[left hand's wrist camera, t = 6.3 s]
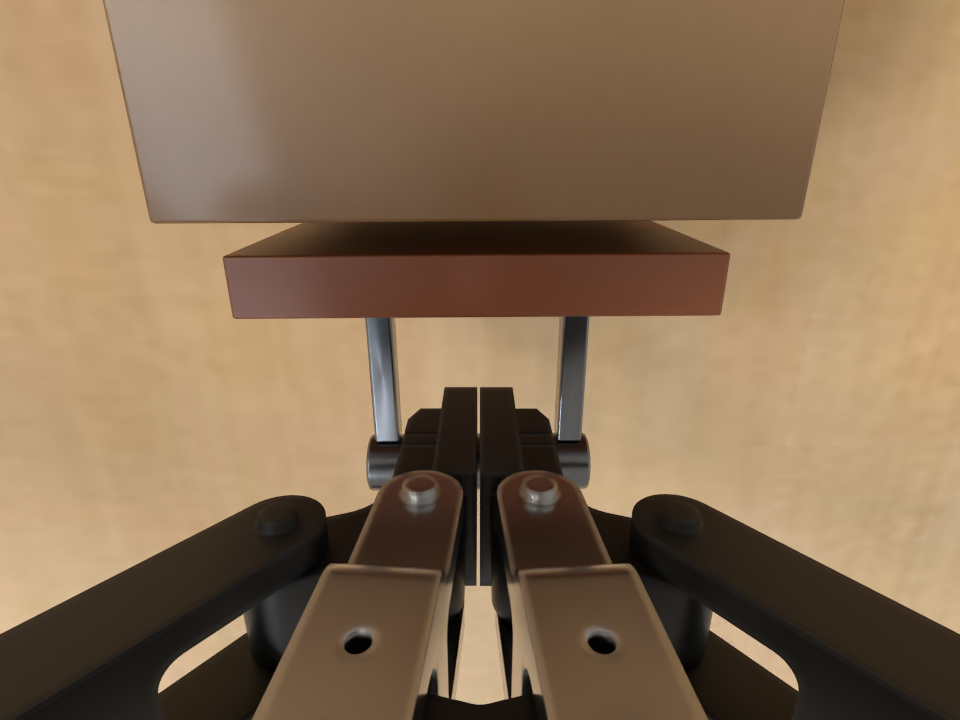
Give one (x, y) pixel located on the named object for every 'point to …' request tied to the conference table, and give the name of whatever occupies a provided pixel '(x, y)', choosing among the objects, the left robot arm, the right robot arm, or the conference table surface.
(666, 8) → the cabinet
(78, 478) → the conference table surface
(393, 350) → the drawer
